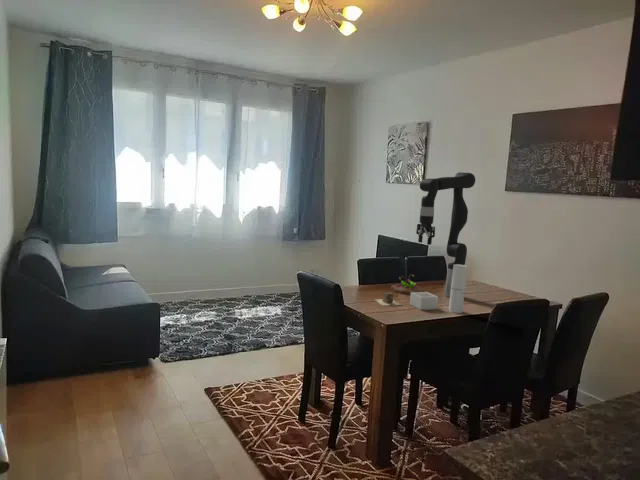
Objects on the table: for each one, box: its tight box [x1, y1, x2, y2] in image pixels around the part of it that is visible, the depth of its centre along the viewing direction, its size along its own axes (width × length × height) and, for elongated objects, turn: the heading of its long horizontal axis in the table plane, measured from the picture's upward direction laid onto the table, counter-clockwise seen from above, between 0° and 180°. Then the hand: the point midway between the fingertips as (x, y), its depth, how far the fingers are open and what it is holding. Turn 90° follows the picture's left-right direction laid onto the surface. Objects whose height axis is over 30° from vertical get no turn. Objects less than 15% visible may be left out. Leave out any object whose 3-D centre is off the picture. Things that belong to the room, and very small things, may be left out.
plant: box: [390, 273, 425, 296], centre depth 291 cm, size 20×20×11 cm
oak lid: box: [372, 292, 403, 307], centre depth 259 cm, size 12×12×6 cm
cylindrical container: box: [448, 264, 468, 314], centre depth 249 cm, size 7×7×25 cm
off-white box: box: [409, 291, 439, 311], centre depth 254 cm, size 11×11×7 cm
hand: (424, 243), depth 263 cm, fingers open, 8 cm apart
